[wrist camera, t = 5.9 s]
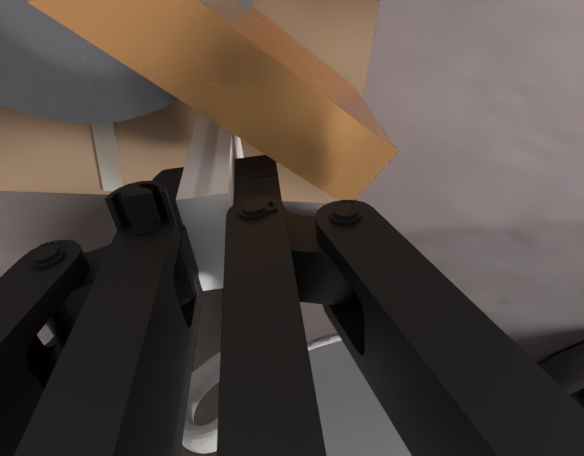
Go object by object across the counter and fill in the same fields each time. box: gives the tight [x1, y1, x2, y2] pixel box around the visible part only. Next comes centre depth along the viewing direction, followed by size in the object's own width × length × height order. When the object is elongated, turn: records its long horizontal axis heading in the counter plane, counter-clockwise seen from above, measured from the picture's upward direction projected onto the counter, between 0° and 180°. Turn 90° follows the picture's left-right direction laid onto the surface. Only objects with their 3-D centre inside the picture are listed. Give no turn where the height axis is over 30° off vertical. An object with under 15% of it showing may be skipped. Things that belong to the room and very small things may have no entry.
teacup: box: [182, 302, 412, 456], centre depth 21 cm, size 14×11×8 cm
